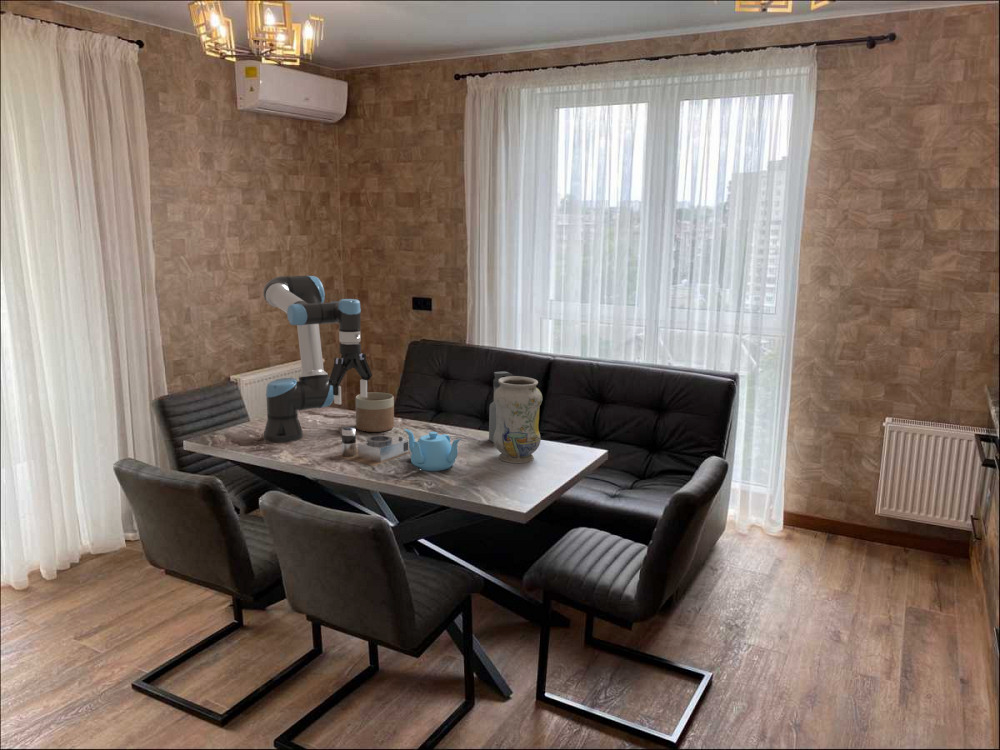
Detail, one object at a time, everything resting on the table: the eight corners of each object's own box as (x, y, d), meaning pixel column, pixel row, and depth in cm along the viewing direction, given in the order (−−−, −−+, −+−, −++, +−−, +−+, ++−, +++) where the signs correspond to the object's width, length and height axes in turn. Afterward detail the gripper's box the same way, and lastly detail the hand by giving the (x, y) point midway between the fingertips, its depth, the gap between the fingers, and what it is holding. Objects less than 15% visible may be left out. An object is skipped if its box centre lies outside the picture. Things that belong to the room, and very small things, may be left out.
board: (335, 459, 276) (335, 456, 275) (373, 446, 292) (373, 443, 292) (374, 469, 265) (373, 465, 265) (410, 455, 282) (410, 452, 281)
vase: (545, 465, 274) (548, 384, 268) (496, 466, 271) (498, 385, 265) (534, 450, 291) (537, 374, 285) (489, 452, 288) (490, 375, 282)
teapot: (412, 475, 260) (412, 440, 257) (404, 459, 277) (404, 427, 275) (461, 471, 264) (461, 438, 262) (450, 456, 282) (450, 424, 280)
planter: (390, 433, 311) (390, 401, 309) (352, 432, 311) (351, 400, 309) (396, 423, 327) (396, 392, 324) (360, 422, 327) (359, 391, 324)
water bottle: (507, 436, 311) (508, 369, 306) (518, 442, 302) (519, 373, 297) (485, 438, 307) (486, 371, 301) (495, 444, 298) (496, 375, 293)
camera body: (357, 456, 275) (357, 439, 274) (385, 447, 288) (385, 430, 286) (380, 462, 269) (380, 444, 268) (408, 452, 282) (408, 435, 280)
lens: (339, 455, 276) (338, 428, 274) (349, 452, 280) (348, 425, 278) (349, 457, 273) (348, 430, 272) (359, 454, 278) (358, 427, 276)
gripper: (332, 348, 257) (334, 408, 261) (381, 339, 278) (381, 395, 282) (317, 345, 261) (318, 405, 265) (365, 337, 282) (366, 392, 286)
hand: (351, 400), depth 274 cm, fingers open, 13 cm apart
